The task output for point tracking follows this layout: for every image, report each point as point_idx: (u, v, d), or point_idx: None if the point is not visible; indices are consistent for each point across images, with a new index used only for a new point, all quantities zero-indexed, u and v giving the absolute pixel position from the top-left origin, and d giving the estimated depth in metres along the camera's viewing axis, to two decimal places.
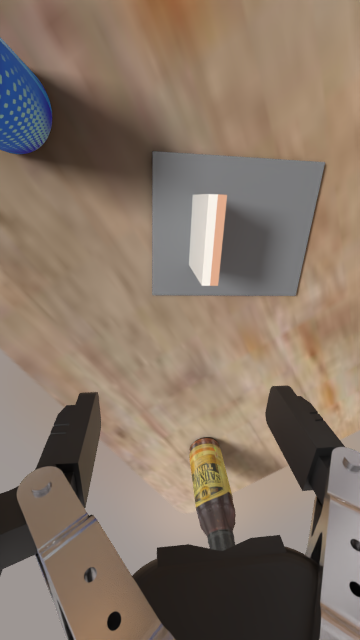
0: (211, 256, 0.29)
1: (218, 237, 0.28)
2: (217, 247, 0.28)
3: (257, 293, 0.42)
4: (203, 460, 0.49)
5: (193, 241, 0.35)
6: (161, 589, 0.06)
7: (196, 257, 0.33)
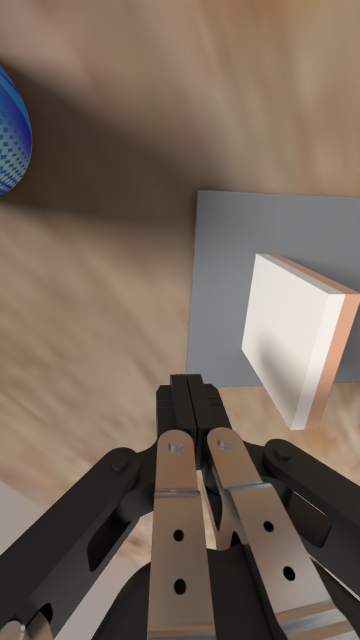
0: (314, 389, 0.16)
1: (332, 361, 0.15)
2: (327, 376, 0.16)
3: None
4: None
5: (257, 327, 0.22)
6: None
7: (269, 362, 0.20)
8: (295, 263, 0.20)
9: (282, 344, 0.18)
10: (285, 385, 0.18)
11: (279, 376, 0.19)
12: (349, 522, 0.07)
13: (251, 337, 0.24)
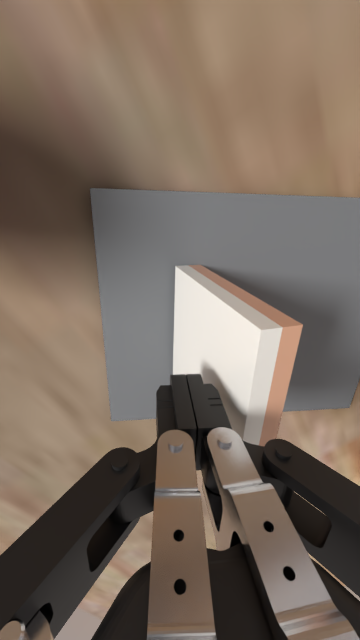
0: None
1: (274, 410, 0.12)
2: (270, 427, 0.12)
3: (287, 408, 0.25)
4: None
5: (186, 356, 0.18)
6: None
7: None
8: (220, 277, 0.16)
9: (213, 384, 0.14)
10: None
11: None
12: (349, 522, 0.07)
13: (180, 367, 0.19)
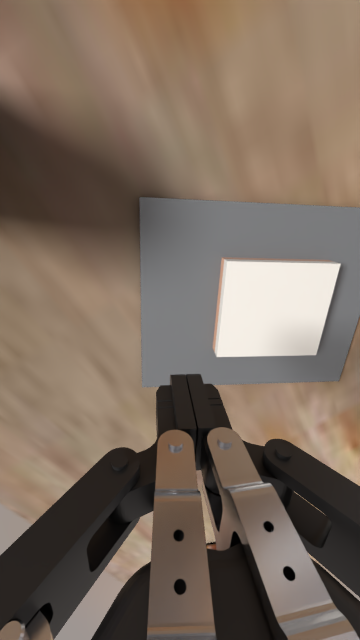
0: None
1: None
2: None
3: (287, 380, 0.30)
4: None
5: (250, 321, 0.25)
6: None
7: (278, 335, 0.26)
8: (259, 258, 0.24)
9: (295, 313, 0.25)
10: (304, 335, 0.26)
11: (295, 335, 0.26)
12: (349, 522, 0.07)
13: (238, 335, 0.25)
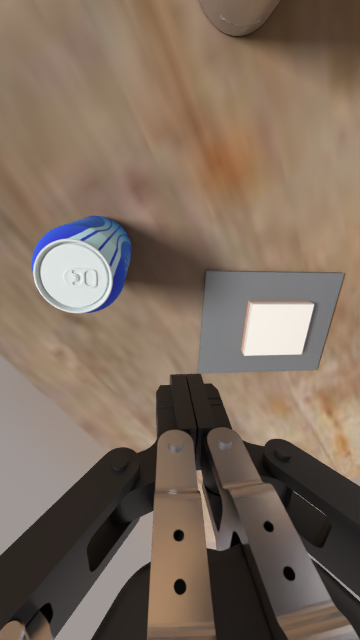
0: None
1: None
2: None
3: (285, 369, 0.50)
4: None
5: (264, 335, 0.44)
6: None
7: (279, 343, 0.45)
8: (269, 300, 0.44)
9: (289, 331, 0.44)
10: (294, 343, 0.45)
11: (289, 343, 0.45)
12: (349, 522, 0.07)
13: (257, 343, 0.45)
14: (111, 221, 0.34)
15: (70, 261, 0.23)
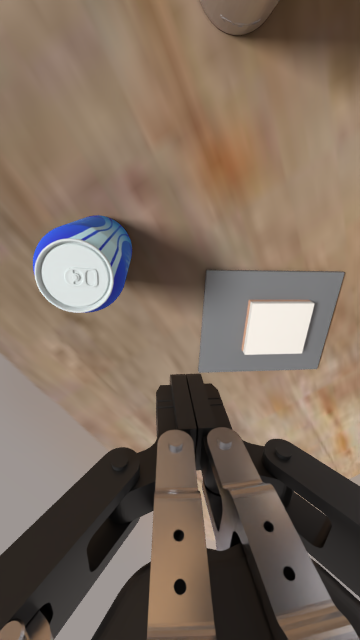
0: None
1: None
2: None
3: (285, 368, 0.50)
4: None
5: (264, 335, 0.44)
6: None
7: (280, 342, 0.45)
8: None
9: (289, 330, 0.44)
10: (295, 342, 0.45)
11: (289, 342, 0.45)
12: (349, 522, 0.07)
13: (257, 342, 0.45)
14: (111, 221, 0.34)
15: (71, 260, 0.23)
